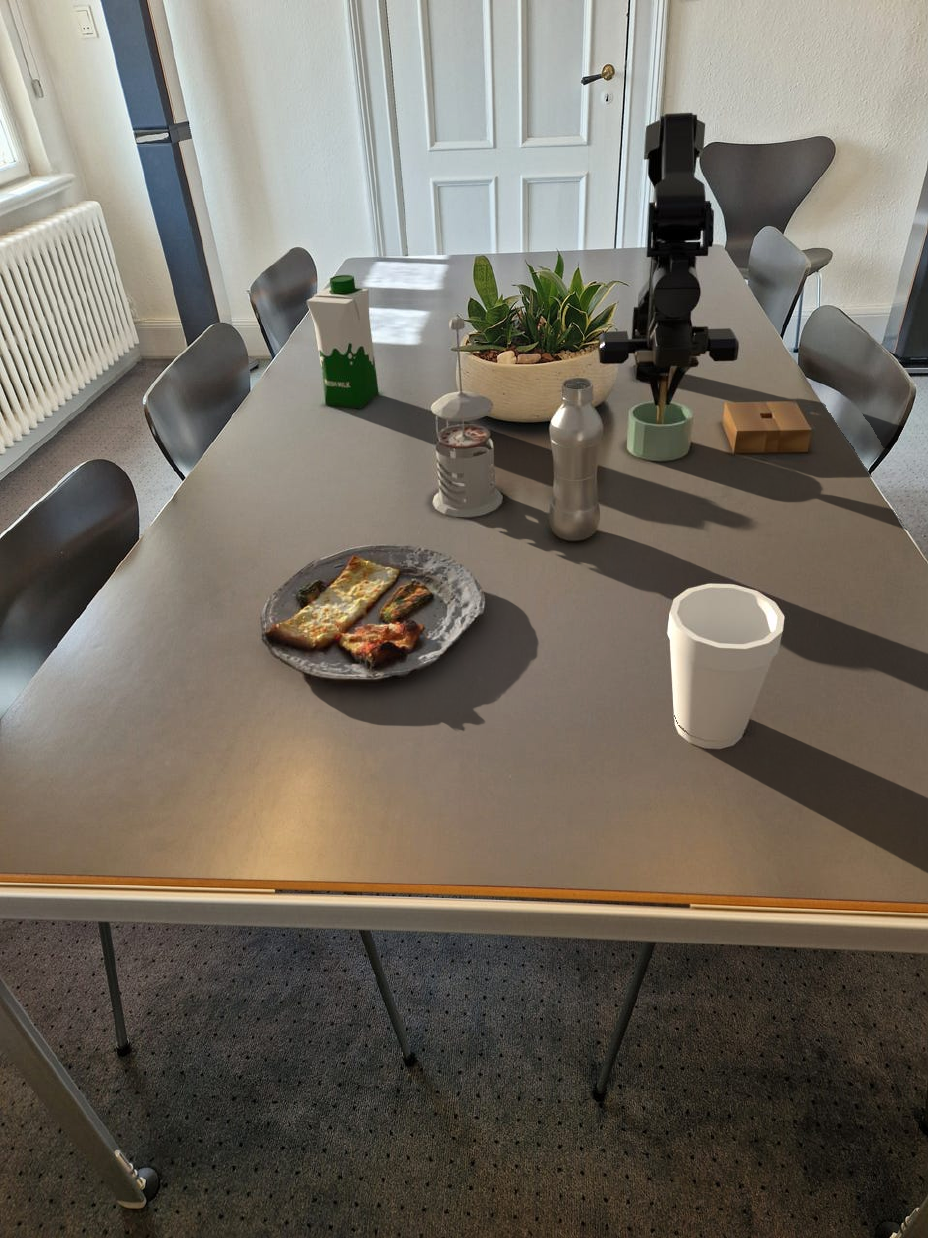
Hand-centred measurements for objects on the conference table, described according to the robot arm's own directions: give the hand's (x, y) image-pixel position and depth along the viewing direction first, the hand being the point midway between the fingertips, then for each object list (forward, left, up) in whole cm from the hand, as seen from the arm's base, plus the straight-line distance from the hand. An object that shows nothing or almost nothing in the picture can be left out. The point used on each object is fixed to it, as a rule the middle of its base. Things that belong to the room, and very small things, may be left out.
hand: (661, 404), depth 124 cm
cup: (0, 0, -7) cm, 7 cm away
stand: (+16, +3, -7) cm, 18 cm away
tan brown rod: (0, 0, -4) cm, 4 cm away
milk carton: (-51, +21, -7) cm, 56 cm away
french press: (-28, -15, -7) cm, 33 cm away
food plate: (-36, -44, -7) cm, 57 cm away
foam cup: (-1, -60, -7) cm, 61 cm away
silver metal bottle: (-13, -25, -7) cm, 29 cm away
